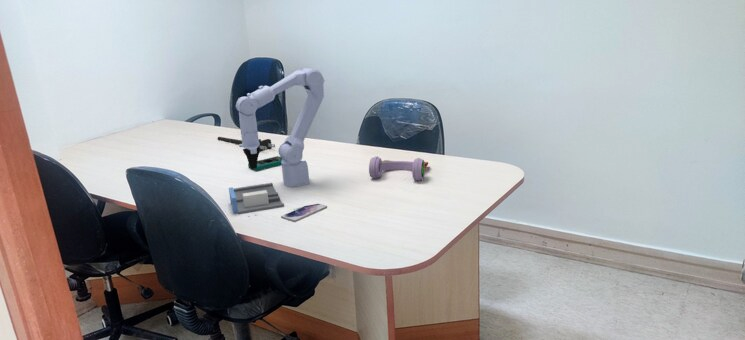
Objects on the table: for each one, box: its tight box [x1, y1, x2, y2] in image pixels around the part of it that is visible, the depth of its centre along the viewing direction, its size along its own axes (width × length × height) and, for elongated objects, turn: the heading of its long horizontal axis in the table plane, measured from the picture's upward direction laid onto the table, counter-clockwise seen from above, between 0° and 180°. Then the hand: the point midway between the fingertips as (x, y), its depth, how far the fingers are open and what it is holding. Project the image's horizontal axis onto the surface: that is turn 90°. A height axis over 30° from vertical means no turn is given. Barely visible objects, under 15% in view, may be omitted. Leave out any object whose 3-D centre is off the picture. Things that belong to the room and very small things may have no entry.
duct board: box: [228, 182, 285, 215], centre depth 190 cm, size 16×24×6 cm
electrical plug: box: [217, 136, 276, 153], centre depth 262 cm, size 9×42×5 cm, turn 49°
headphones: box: [368, 156, 429, 182], centre depth 210 cm, size 20×10×20 cm
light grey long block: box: [243, 190, 281, 208], centre depth 185 cm, size 12×3×4 cm, turn 109°
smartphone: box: [280, 203, 328, 223], centre depth 179 cm, size 7×1×15 cm
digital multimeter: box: [247, 155, 282, 172], centre depth 229 cm, size 7×15×3 cm, turn 127°
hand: (253, 168), depth 196 cm, fingers closed
